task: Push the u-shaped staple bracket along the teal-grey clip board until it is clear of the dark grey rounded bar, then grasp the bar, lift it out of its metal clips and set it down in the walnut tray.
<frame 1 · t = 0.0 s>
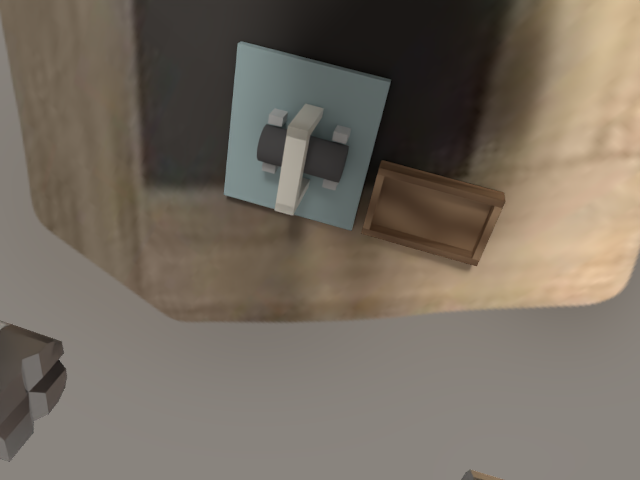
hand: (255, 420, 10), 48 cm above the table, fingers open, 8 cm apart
tray: (430, 209, 60), on the table
clip board: (301, 140, 59), on the table
dark grey rounded bar: (307, 146, 58), point 1 cm above the table, touching clip board
u-shaped staple bracket: (299, 159, 55), point 5 cm above the table, slide at 0.0 cm
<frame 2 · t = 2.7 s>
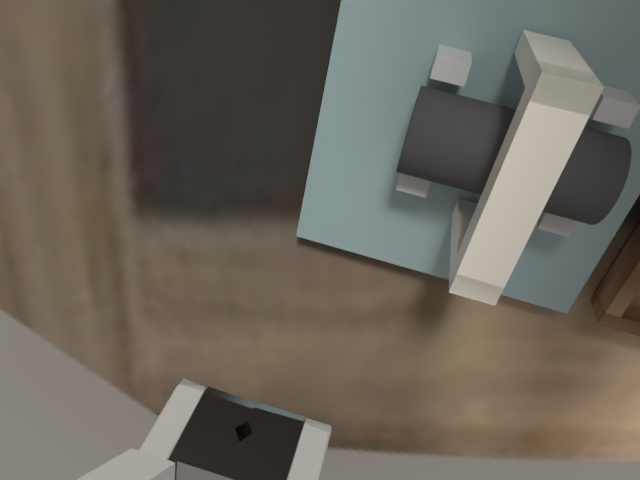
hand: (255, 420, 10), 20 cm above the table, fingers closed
clip board: (483, 123, 26), on the table
dark grey rounded bar: (504, 135, 25), point 1 cm above the table, touching clip board
u-shaped staple bracket: (509, 166, 23), point 5 cm above the table, slide at 0.0 cm
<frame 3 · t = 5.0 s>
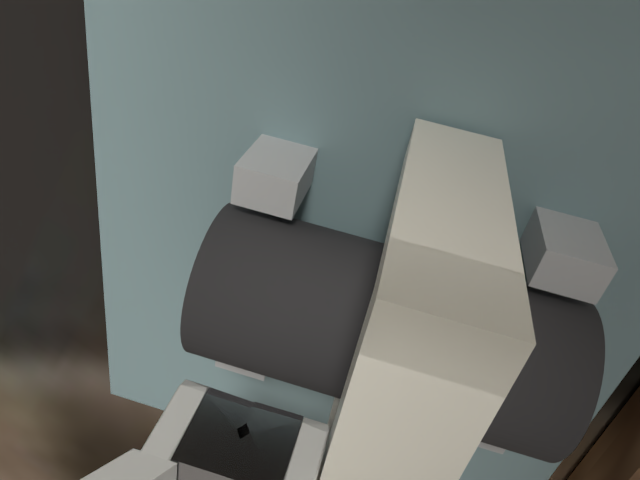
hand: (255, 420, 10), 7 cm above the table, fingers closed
clip board: (363, 250, 16), on the table
dark grey rounded bar: (391, 279, 15), point 1 cm above the table, touching clip board
u-shaped staple bracket: (390, 376, 12), point 5 cm above the table, slide at 0.4 cm, touching gripper
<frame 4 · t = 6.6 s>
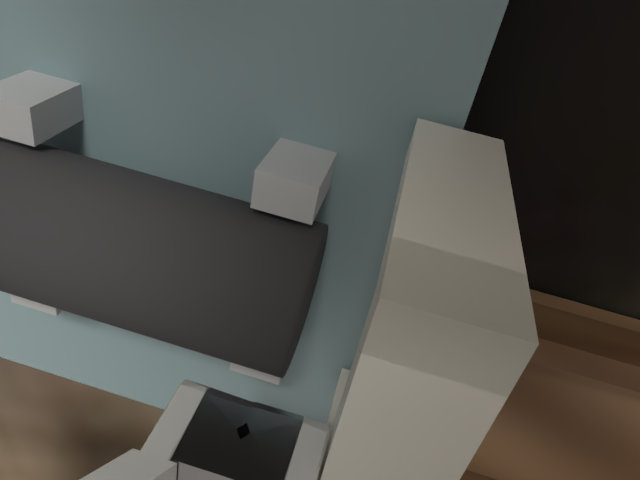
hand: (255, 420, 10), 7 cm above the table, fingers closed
tray: (615, 428, 17), on the table
clip board: (159, 192, 16), on the table
dark grey rounded bar: (175, 216, 16), point 1 cm above the table, touching clip board
u-shaped staple bracket: (390, 376, 12), point 5 cm above the table, slide at 6.9 cm, touching gripper
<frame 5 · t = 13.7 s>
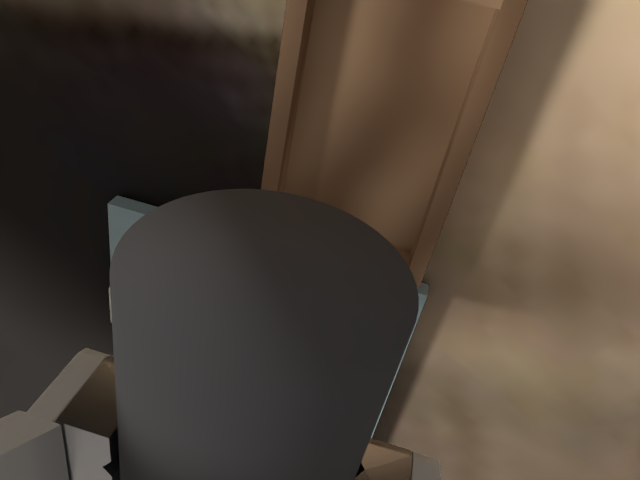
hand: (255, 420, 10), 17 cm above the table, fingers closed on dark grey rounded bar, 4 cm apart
tray: (373, 121, 24), on the table
clip board: (252, 340, 34), on the table
dark grey rounded bar: (272, 379, 11), point 16 cm above the table, touching gripper
u-shaped staple bracket: (240, 289, 25), point 5 cm above the table, slide at 7.0 cm
when the fingers open (4 cm above the table, at t = 16.7 s): dark grey rounded bar drops 2 cm, resting on tray.
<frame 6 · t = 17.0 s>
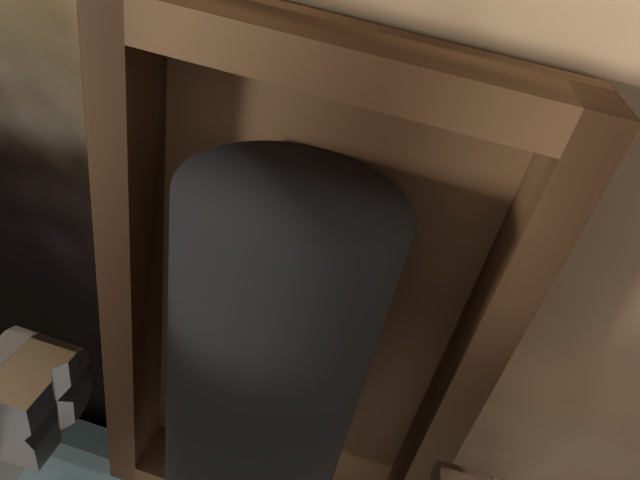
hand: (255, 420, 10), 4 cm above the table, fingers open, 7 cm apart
tray: (304, 303, 13), on the table
dark grey rounded bar: (296, 318, 13), point 1 cm above the table, touching tray
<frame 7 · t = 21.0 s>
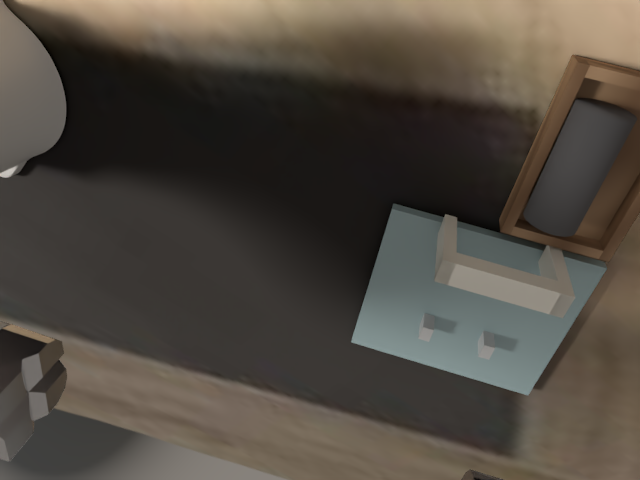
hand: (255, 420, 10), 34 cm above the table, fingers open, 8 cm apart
tray: (589, 159, 40), on the table
clip board: (465, 302, 49), on the table
dark grey rounded bar: (589, 165, 39), point 1 cm above the table, tilted 40°, touching tray
u-shaped staple bracket: (500, 262, 41), point 5 cm above the table, slide at 7.0 cm
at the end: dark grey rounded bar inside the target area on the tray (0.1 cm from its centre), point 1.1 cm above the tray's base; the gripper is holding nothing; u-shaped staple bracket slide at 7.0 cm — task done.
